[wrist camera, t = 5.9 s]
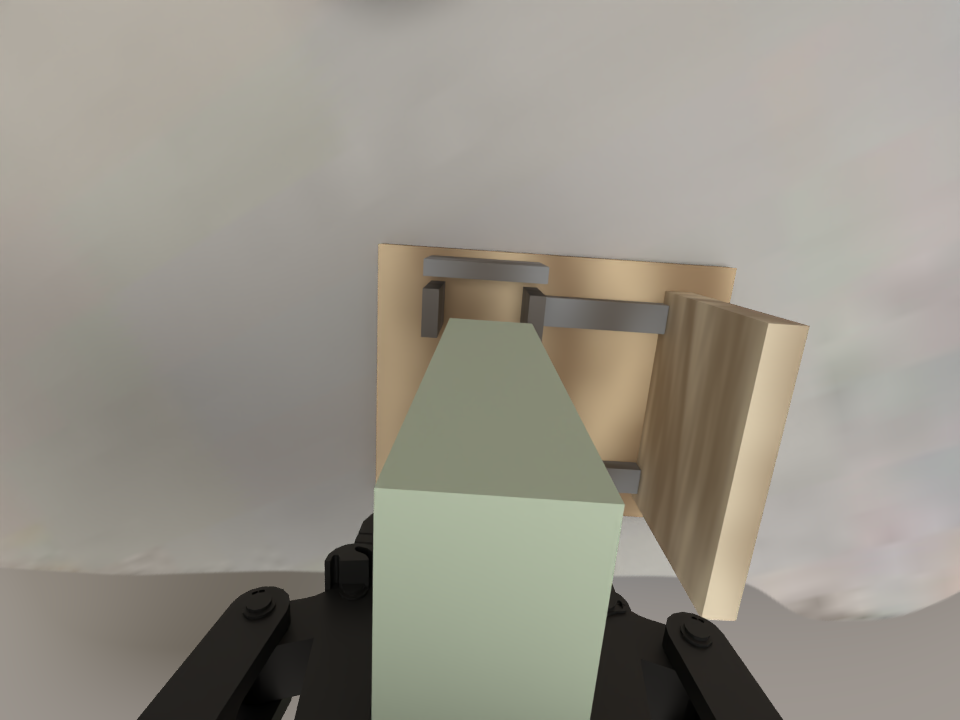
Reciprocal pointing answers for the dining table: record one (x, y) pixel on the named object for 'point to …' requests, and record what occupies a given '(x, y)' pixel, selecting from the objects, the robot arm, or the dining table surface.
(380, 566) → the door
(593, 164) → the dining table surface
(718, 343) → the hinge board
